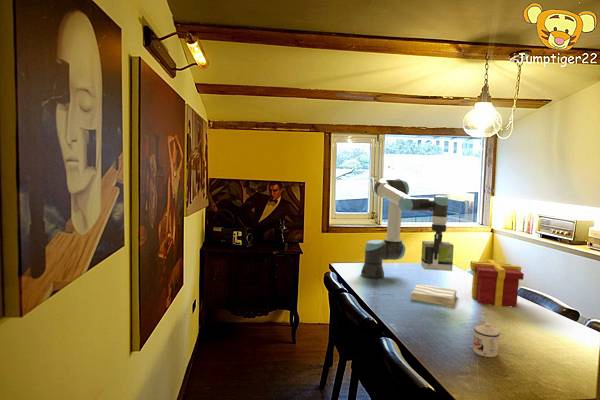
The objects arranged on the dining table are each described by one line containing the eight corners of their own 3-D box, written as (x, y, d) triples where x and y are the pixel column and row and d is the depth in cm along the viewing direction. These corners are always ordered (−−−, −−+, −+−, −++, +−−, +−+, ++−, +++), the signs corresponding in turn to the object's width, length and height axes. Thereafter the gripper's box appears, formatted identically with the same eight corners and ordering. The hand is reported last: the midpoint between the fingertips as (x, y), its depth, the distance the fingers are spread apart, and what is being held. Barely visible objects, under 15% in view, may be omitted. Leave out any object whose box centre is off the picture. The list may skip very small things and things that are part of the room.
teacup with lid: (468, 347, 162) (470, 319, 161) (489, 347, 163) (491, 319, 162) (484, 361, 150) (486, 331, 149) (507, 361, 151) (510, 331, 150)
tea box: (447, 267, 227) (449, 241, 226) (452, 271, 217) (454, 244, 216) (420, 265, 229) (422, 239, 228) (423, 269, 219) (425, 242, 218)
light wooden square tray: (416, 290, 238) (416, 283, 238) (456, 296, 229) (456, 289, 229) (410, 299, 220) (411, 292, 220) (453, 306, 211) (454, 299, 211)
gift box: (464, 291, 240) (467, 257, 239) (510, 295, 235) (513, 261, 234) (474, 304, 216) (477, 267, 214) (524, 310, 211) (528, 272, 209)
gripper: (444, 227, 209) (441, 268, 211) (448, 222, 230) (445, 259, 232) (429, 225, 212) (426, 266, 214) (434, 221, 234) (432, 258, 235)
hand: (436, 263), depth 223 cm, fingers closed on tea box, 11 cm apart
